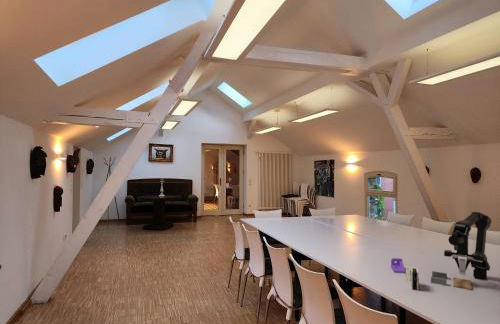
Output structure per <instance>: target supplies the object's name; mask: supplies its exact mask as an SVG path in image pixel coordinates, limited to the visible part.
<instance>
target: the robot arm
mask: <svg viewBox="0 0 500 324" xmlns="http://www.w3.org/2000/svg"><path fill="white" fill-rule="evenodd" d="M491 224H492V218H491V217H490V216H488V215H486V214H483V213H482V212H480V211H472V212H471V214H469V215H468V216H466V218H464V220H458V221H456V222H455V224H454V225H453V228H452V230H451V235H450V236H449V237H448V240H447V241H448V243H449V244H450V245H452V246H453V251H455V252H453V251H452V250H451V249H450V250H449V249H444V251H443V256H444V257H449V258H451V257H452V259H454V261H455V263H456V265H457V268H458V270H459V257H463V258H466V259H465V260H466V267H465V271H467V270H468V267H469V265H470V266H471V268H474V269H472V271H473V273H472V274H473V278H474V279H476V280H482V281H488V272H489V271H490V270H491V265H490V264H489V262H488V257H487V255H486V254H485V252H486V251H485V249H486V238H487V230H489V228H490V227H491ZM474 225H475V228H476V239H475V250H474V252H473V253H471V254H470V253H469V236H470V232H471V230H472V226H474ZM487 271H488V272H487Z"/></svg>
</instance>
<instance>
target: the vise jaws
mask: <svg viewBox="0 0 500 324" xmlns="http://www.w3.org/2000/svg"><path fill="white" fill-rule="evenodd" d="M431 274H432V275H431V277H430V283H431V284H435V285H441V286H447V279H448V273H447V272H443V271H442V272H441V271H435V270H432V272H431ZM437 277H438V278H437Z"/></svg>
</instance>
